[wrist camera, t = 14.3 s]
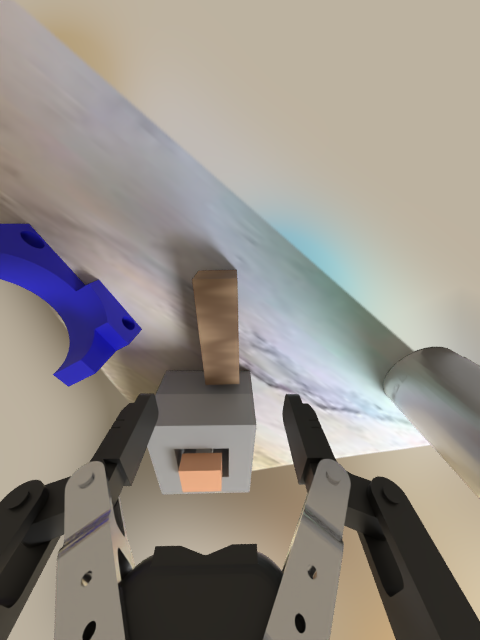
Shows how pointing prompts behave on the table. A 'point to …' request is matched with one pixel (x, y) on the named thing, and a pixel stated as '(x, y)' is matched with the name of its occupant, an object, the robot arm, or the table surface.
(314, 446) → the robot arm
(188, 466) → the button
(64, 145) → the table surface
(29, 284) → the blue bent block
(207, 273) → the brown wooden plank
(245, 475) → the box
